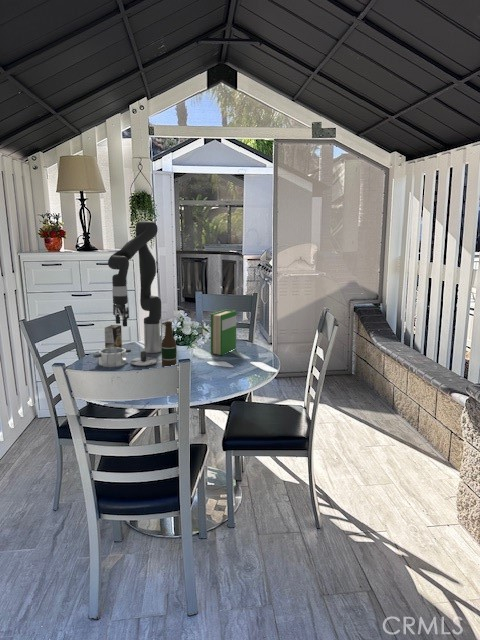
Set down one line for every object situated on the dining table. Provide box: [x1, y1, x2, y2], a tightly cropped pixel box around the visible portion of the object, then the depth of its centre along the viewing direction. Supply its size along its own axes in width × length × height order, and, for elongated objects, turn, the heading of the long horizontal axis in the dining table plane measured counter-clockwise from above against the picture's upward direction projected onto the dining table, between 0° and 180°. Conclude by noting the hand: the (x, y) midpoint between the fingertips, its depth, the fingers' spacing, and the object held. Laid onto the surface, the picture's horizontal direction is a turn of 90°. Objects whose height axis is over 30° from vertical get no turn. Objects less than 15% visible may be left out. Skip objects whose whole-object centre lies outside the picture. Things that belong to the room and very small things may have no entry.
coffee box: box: [104, 324, 123, 348], centre depth 264 cm, size 9×6×16 cm
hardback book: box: [210, 309, 237, 356], centre depth 271 cm, size 18×7×24 cm, turn 153°
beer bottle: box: [161, 320, 178, 368], centre depth 241 cm, size 8×8×24 cm
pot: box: [92, 347, 132, 368], centre depth 246 cm, size 20×14×7 cm
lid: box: [130, 350, 157, 367], centre depth 247 cm, size 14×14×7 cm
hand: (121, 324), depth 243 cm, fingers open, 8 cm apart
